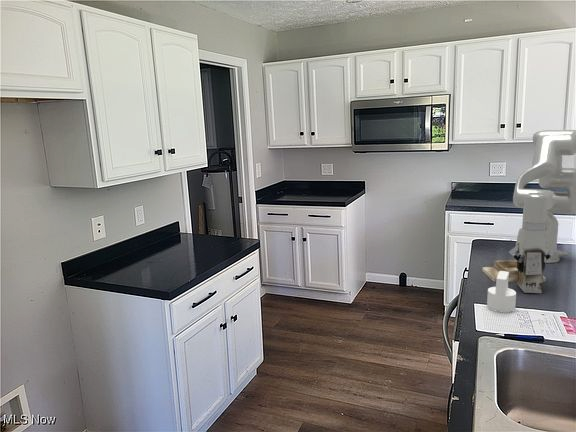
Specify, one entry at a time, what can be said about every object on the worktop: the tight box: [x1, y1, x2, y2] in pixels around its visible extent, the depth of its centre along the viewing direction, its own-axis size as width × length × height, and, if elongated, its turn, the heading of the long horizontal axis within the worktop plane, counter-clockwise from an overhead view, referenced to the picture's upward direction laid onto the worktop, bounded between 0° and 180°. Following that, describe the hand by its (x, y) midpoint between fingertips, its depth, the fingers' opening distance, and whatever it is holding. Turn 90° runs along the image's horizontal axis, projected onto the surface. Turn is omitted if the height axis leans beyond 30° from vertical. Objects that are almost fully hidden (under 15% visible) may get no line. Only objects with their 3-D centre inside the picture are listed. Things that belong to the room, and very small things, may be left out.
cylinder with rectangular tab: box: [486, 271, 517, 313], centre depth 154 cm, size 9×9×12 cm
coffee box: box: [516, 250, 545, 294], centre depth 168 cm, size 9×6×16 cm
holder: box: [481, 259, 546, 283], centre depth 184 cm, size 20×14×4 cm
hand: (530, 270), depth 168 cm, fingers closed on coffee box, 6 cm apart
